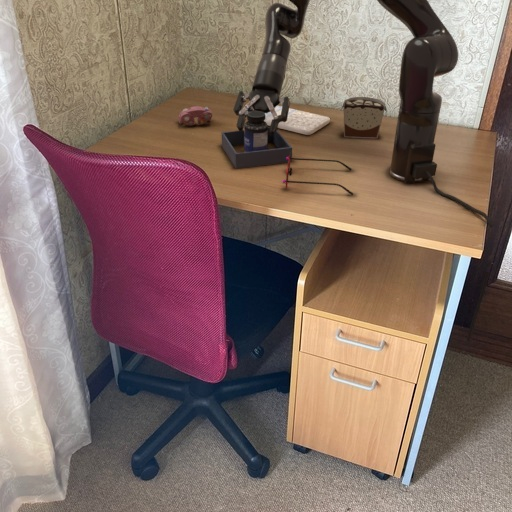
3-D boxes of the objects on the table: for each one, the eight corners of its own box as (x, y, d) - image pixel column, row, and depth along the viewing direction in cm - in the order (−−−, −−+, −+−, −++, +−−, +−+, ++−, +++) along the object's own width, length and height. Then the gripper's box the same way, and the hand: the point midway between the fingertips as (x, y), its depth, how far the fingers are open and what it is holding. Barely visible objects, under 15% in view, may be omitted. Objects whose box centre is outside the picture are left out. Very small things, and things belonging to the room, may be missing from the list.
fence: (291, 162, 148) (292, 147, 146) (235, 168, 144) (235, 154, 142) (273, 140, 160) (274, 126, 158) (221, 146, 156) (221, 132, 154)
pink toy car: (180, 131, 169) (180, 114, 163) (177, 120, 171) (177, 103, 165) (212, 128, 171) (214, 111, 165) (209, 117, 173) (211, 100, 167)
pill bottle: (241, 150, 154) (241, 110, 148) (263, 148, 155) (263, 108, 149) (248, 159, 149) (248, 119, 143) (270, 157, 150) (271, 116, 144)
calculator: (309, 136, 163) (310, 130, 161) (251, 121, 172) (251, 115, 171) (331, 122, 172) (331, 116, 171) (275, 109, 181) (275, 103, 180)
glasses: (285, 166, 145) (286, 148, 143) (351, 170, 144) (353, 151, 141) (282, 191, 134) (282, 172, 131) (353, 195, 132) (355, 176, 130)
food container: (380, 130, 167) (385, 97, 161) (382, 138, 161) (387, 104, 156) (338, 129, 167) (341, 95, 162) (338, 136, 162) (342, 102, 157)
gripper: (241, 65, 149) (225, 122, 147) (293, 71, 145) (278, 129, 143) (248, 80, 157) (233, 134, 154) (298, 86, 153) (284, 142, 150)
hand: (255, 132), depth 148 cm, fingers open, 8 cm apart
